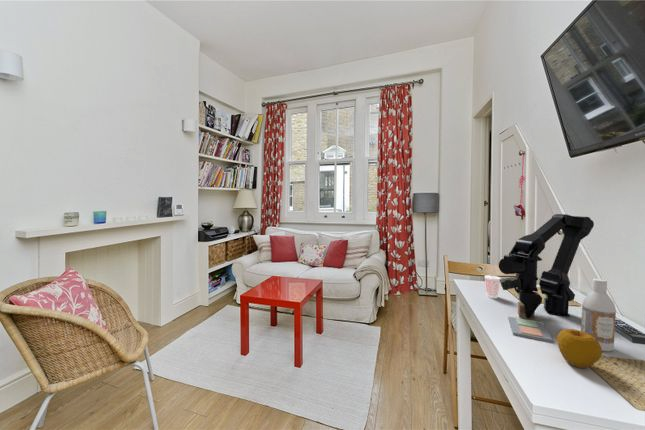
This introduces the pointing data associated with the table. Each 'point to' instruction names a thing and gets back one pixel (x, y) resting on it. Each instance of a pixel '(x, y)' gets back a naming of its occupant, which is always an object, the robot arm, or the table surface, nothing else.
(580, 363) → the apple
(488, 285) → the beverage cup
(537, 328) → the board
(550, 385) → the table surface
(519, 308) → the walnut block
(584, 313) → the bath foam
